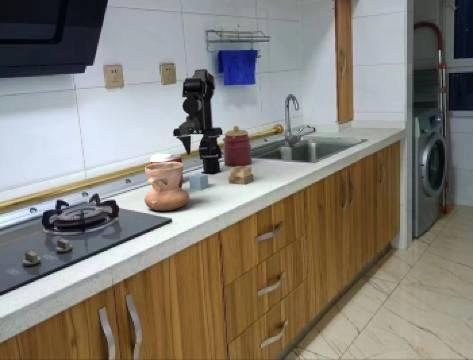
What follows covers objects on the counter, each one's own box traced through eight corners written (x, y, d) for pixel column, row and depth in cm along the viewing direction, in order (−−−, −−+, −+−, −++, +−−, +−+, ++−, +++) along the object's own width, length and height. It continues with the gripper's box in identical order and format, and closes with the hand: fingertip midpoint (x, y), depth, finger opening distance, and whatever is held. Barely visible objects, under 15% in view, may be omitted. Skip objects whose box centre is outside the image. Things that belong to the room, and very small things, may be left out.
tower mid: (230, 176, 191) (229, 169, 190) (238, 173, 196) (238, 166, 195) (243, 177, 188) (243, 170, 187) (251, 174, 193) (251, 166, 192)
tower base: (229, 184, 191) (228, 176, 191) (238, 180, 197) (238, 173, 197) (244, 185, 188) (244, 178, 187) (253, 181, 194) (253, 174, 193)
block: (190, 189, 186) (189, 176, 184) (198, 186, 190) (197, 173, 189) (200, 190, 183) (199, 177, 182) (208, 187, 187) (207, 174, 186)
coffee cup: (157, 201, 171) (153, 158, 167) (150, 196, 178) (146, 155, 175) (180, 197, 174) (177, 155, 171) (172, 192, 182) (168, 152, 178)
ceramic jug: (170, 217, 152) (166, 171, 148) (133, 212, 159) (129, 169, 155) (202, 202, 167) (199, 160, 164) (167, 198, 174) (163, 158, 171)
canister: (234, 160, 238) (232, 123, 234) (257, 162, 230) (255, 124, 226) (218, 165, 228) (216, 127, 224) (241, 167, 220) (239, 128, 216)
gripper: (162, 114, 179) (165, 157, 181) (204, 113, 169) (207, 159, 172) (180, 112, 188) (183, 153, 191) (222, 111, 178) (224, 154, 181)
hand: (198, 155), depth 183 cm, fingers open, 9 cm apart
